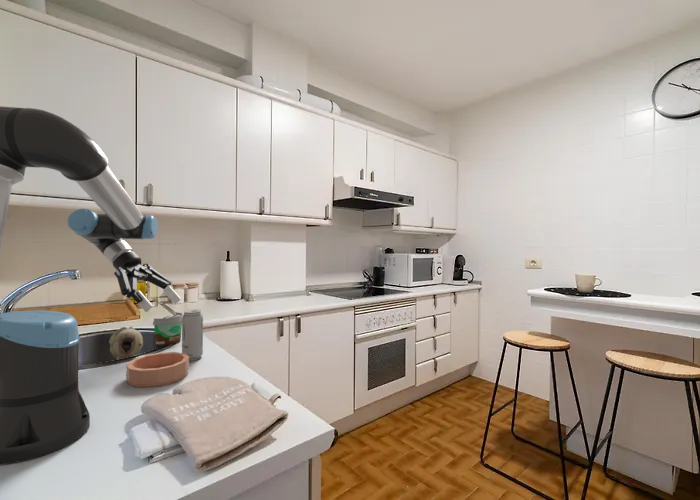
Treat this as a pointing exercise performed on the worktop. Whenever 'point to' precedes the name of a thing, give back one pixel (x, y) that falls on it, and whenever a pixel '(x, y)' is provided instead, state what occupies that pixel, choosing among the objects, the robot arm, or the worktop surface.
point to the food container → (168, 329)
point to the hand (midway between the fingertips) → (164, 305)
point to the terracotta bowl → (157, 369)
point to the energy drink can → (192, 334)
